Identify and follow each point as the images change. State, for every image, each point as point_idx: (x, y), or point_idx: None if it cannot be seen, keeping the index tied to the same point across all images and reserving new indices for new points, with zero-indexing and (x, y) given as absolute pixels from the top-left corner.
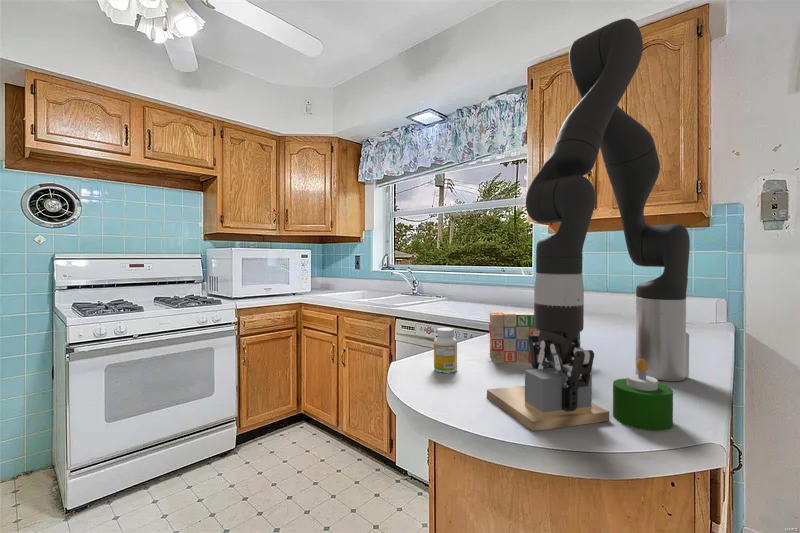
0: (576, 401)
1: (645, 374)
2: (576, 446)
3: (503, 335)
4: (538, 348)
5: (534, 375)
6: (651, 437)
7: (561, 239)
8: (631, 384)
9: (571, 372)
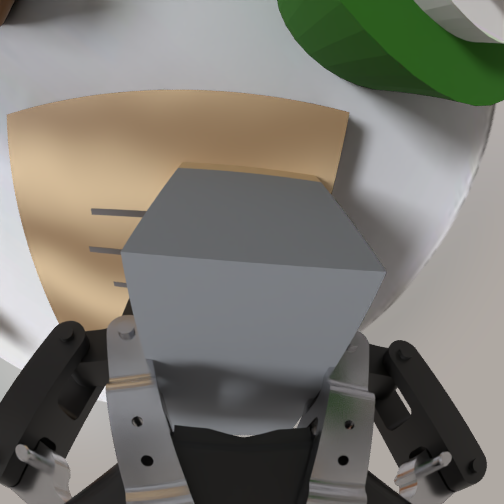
0: None
1: None
2: (373, 306)
3: None
4: (52, 441)
5: (236, 433)
6: (450, 119)
7: None
8: (462, 33)
9: (379, 430)
